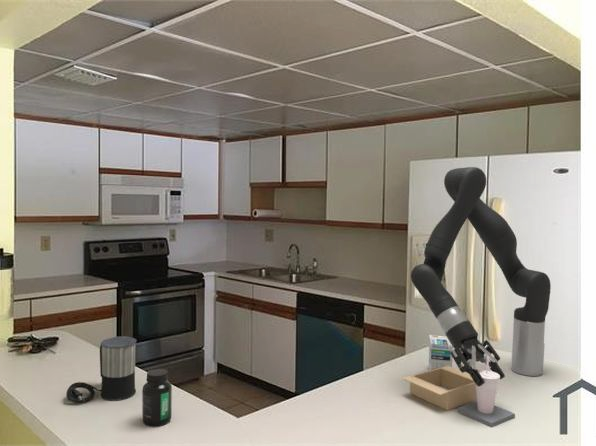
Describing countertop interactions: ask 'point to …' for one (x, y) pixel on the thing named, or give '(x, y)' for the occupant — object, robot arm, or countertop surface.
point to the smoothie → (487, 390)
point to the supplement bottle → (157, 399)
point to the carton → (447, 377)
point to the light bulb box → (439, 352)
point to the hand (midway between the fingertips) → (492, 381)
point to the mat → (488, 419)
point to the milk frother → (111, 372)
